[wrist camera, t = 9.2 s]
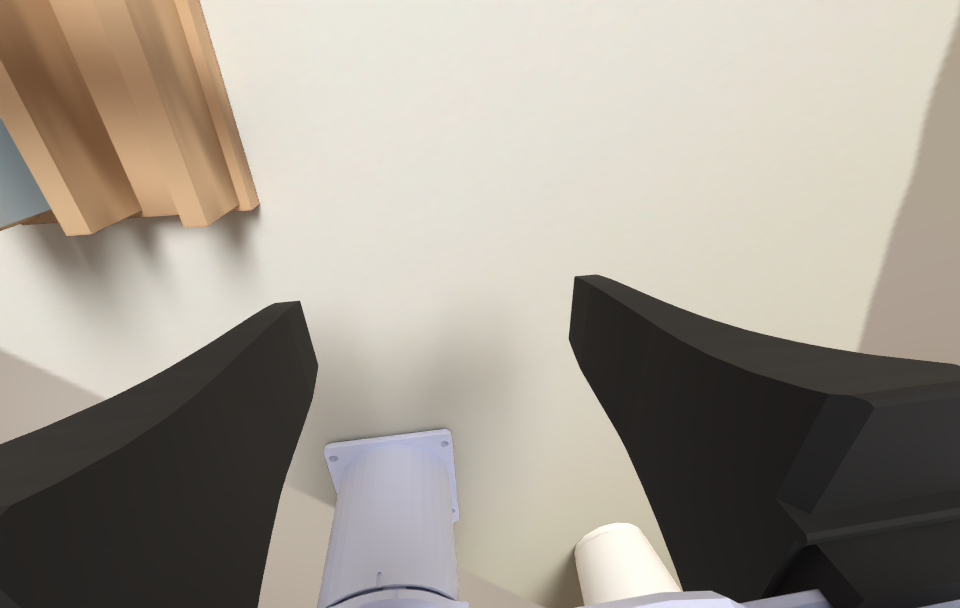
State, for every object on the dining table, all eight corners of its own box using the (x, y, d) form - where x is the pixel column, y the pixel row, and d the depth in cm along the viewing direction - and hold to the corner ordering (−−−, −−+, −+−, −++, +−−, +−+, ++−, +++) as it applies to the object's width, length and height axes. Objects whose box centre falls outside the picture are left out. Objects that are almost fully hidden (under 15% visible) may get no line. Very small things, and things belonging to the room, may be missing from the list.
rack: (259, 203, 18) (222, 233, 15) (42, 217, 17) (-53, 252, 14) (180, -61, 14) (101, -108, 10) (-119, -62, 13) (-318, -114, 9)
